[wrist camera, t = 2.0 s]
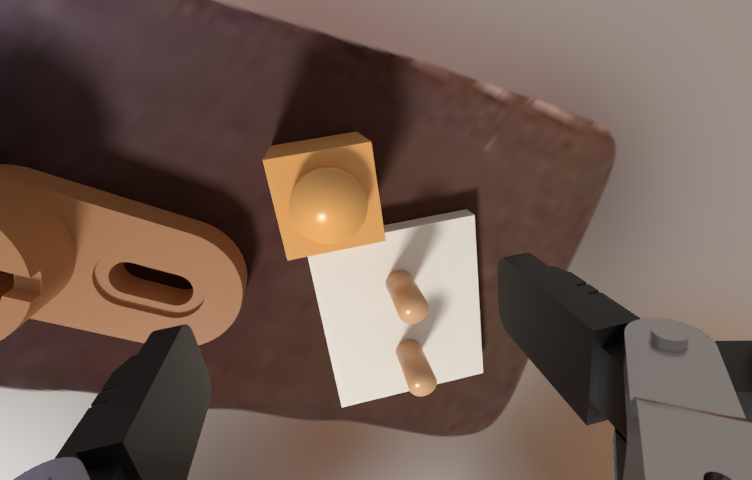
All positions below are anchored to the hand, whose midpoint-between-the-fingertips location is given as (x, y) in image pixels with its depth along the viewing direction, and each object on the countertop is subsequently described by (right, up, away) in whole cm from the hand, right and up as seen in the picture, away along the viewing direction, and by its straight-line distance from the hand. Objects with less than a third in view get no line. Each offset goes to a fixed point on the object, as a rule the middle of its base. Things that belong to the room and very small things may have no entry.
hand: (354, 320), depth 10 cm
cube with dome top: (-3, +6, +17) cm, 18 cm away
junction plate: (+2, -3, +21) cm, 21 cm away
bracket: (-17, +1, +16) cm, 24 cm away
